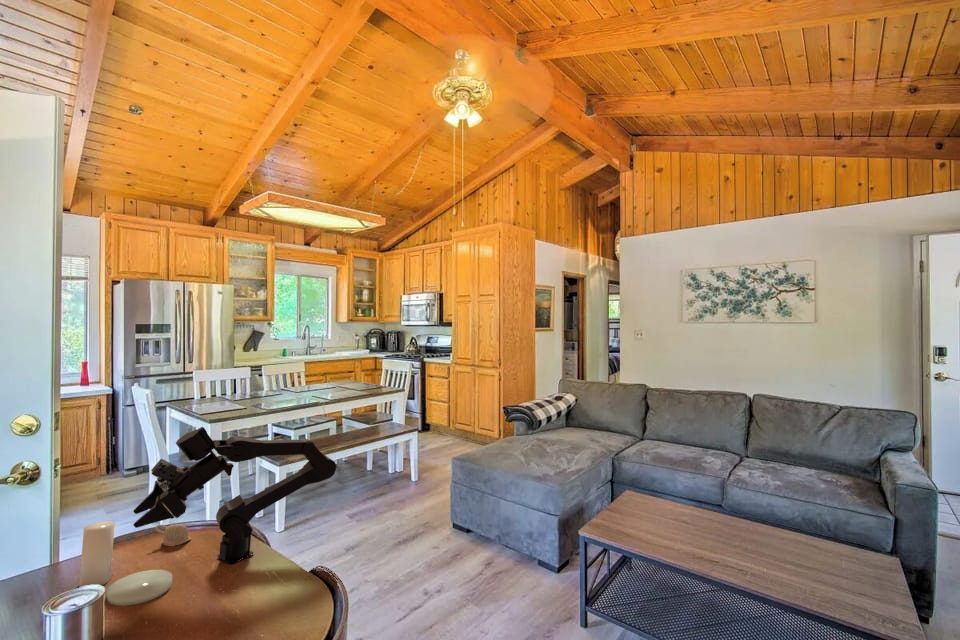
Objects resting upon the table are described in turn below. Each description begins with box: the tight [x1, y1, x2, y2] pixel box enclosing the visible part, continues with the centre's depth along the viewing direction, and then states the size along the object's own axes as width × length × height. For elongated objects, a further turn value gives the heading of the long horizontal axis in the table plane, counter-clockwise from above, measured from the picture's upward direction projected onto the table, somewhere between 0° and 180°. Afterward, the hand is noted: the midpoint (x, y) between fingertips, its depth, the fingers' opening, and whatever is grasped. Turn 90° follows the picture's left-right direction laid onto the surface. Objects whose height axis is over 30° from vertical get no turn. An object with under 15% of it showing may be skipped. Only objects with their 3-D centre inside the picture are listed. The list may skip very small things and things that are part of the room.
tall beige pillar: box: [78, 520, 116, 588], centre depth 106 cm, size 6×6×13 cm
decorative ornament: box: [154, 523, 192, 547], centre depth 126 cm, size 4×8×5 cm, turn 103°
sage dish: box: [106, 569, 173, 607], centre depth 103 cm, size 12×12×2 cm
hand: (134, 519), depth 107 cm, fingers open, 9 cm apart
